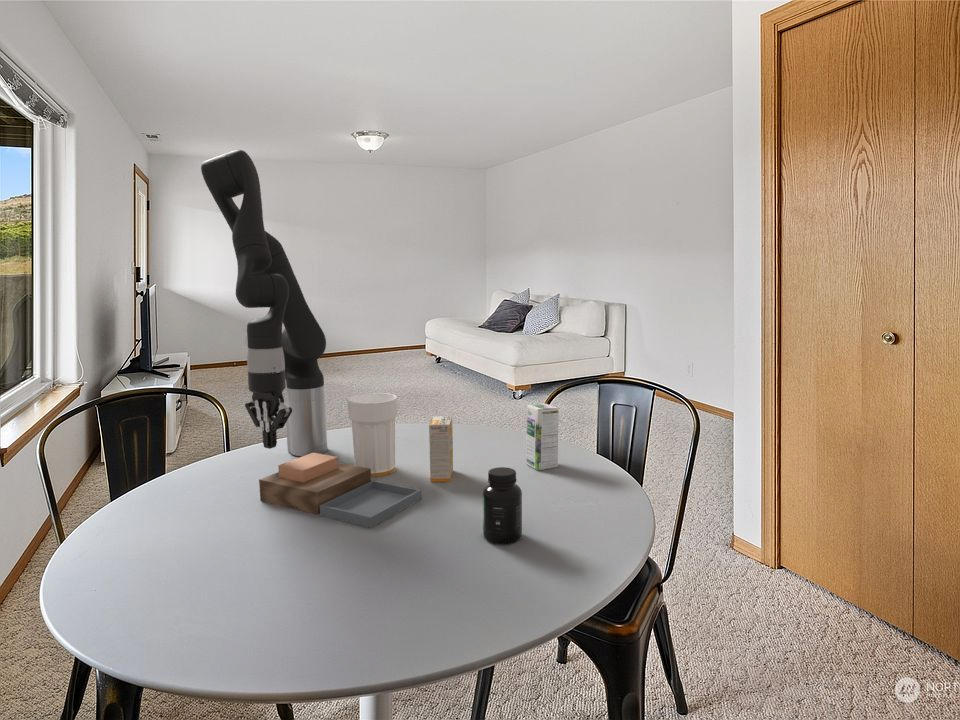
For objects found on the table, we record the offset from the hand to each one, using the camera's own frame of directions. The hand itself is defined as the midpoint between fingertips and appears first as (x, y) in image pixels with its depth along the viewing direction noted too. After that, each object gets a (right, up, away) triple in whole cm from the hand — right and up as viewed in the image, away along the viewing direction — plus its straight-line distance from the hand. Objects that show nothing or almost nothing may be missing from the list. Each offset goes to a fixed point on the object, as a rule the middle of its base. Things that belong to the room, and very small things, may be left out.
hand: (270, 447), depth 138 cm
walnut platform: (+11, -9, -4) cm, 15 cm away
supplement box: (+37, -8, +7) cm, 38 cm away
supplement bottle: (+49, -12, -26) cm, 57 cm away
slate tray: (+24, -10, -11) cm, 28 cm away
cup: (+21, -7, +11) cm, 25 cm away
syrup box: (+60, -6, +13) cm, 62 cm away
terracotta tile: (+9, -5, -4) cm, 11 cm away
